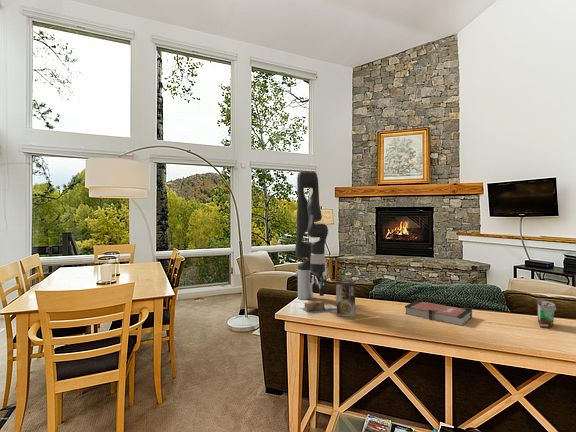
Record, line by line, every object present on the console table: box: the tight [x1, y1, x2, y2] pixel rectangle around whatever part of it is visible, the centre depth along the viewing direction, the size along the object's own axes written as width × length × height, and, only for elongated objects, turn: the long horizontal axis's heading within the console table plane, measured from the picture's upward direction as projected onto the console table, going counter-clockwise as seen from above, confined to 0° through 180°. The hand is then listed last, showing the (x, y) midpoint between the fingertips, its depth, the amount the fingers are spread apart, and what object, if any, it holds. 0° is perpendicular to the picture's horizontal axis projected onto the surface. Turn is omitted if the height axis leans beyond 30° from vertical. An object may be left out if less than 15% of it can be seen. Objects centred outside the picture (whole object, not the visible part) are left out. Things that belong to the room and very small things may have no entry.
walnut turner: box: [304, 300, 336, 313], centre depth 172 cm, size 16×7×4 cm, turn 112°
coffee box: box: [335, 281, 356, 317], centre depth 164 cm, size 9×6×16 cm
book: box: [404, 298, 473, 327], centre depth 163 cm, size 26×18×5 cm
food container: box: [537, 299, 557, 329], centre depth 148 cm, size 12×6×10 cm, turn 148°
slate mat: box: [300, 307, 336, 316], centre depth 172 cm, size 12×18×1 cm, turn 112°
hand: (317, 293), depth 171 cm, fingers open, 8 cm apart
